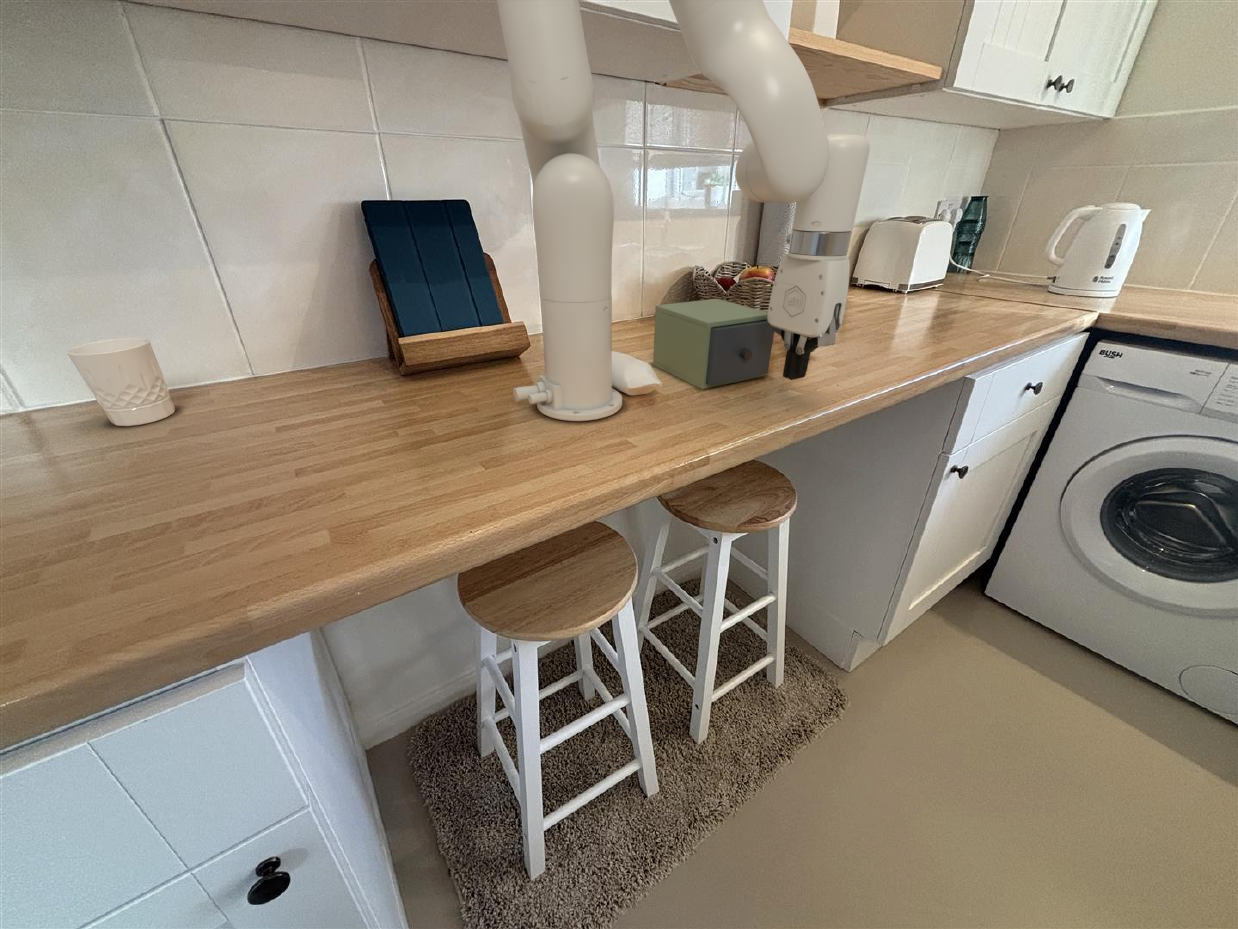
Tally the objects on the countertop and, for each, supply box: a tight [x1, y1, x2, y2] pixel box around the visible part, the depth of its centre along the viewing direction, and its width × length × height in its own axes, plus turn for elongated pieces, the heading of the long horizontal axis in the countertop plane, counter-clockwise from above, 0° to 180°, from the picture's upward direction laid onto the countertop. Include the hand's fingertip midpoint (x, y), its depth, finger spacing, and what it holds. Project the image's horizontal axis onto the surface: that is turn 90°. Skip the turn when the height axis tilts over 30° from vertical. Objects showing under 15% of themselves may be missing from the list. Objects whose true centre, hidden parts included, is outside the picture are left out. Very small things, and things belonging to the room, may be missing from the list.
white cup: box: [66, 337, 176, 427], centre depth 66 cm, size 8×8×10 cm
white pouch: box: [612, 350, 663, 396], centre depth 76 cm, size 6×12×6 cm, turn 35°
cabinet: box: [652, 298, 768, 390], centre depth 85 cm, size 15×14×11 cm
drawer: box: [706, 320, 775, 386], centre depth 83 cm, size 15×12×9 cm
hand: (793, 376), depth 75 cm, fingers closed
